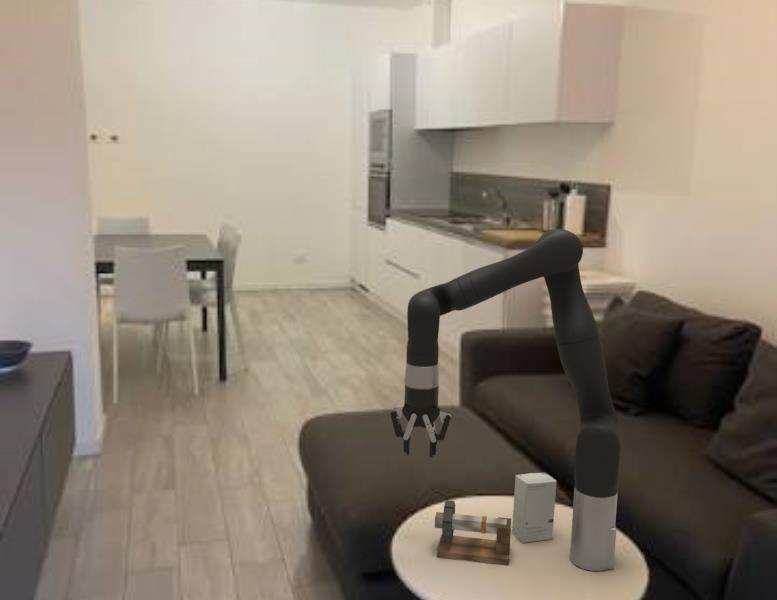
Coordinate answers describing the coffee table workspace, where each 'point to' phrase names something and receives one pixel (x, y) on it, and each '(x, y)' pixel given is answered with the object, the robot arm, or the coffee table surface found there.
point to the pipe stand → (477, 539)
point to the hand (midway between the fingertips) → (419, 454)
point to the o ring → (448, 521)
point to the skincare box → (533, 507)
